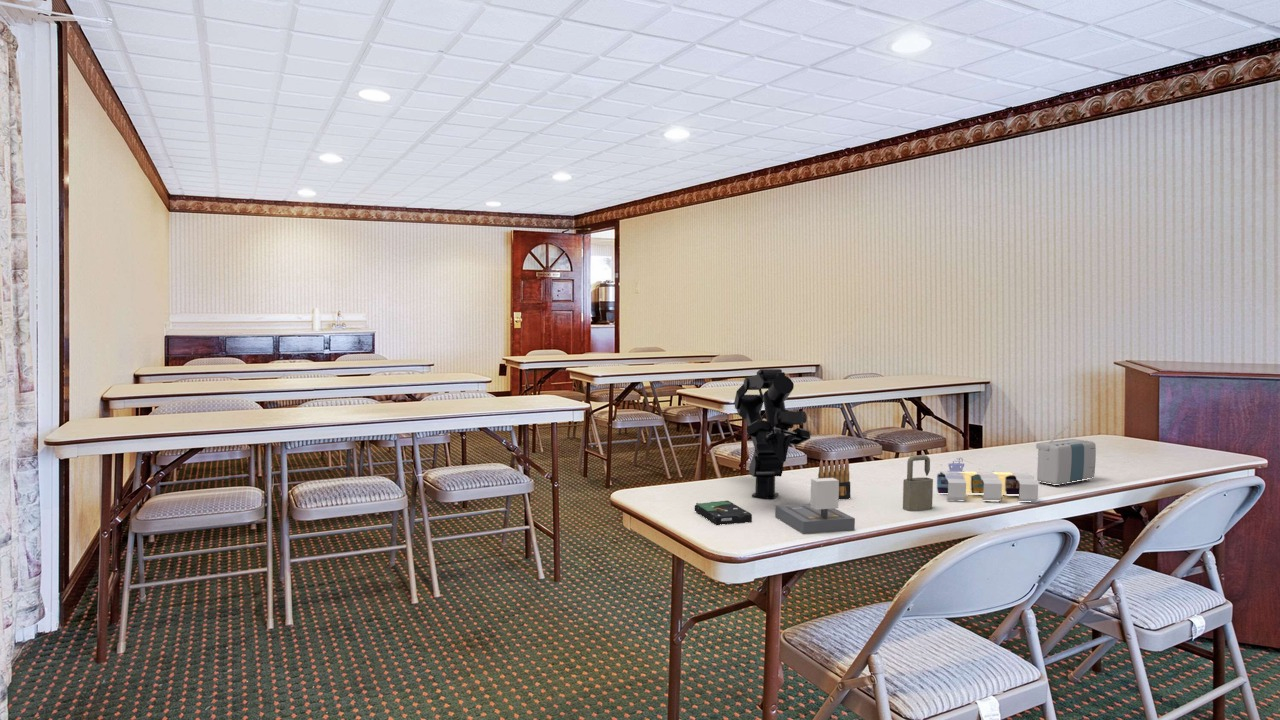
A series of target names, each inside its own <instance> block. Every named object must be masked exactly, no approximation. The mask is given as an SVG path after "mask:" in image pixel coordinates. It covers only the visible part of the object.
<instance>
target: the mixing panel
mask: <svg viewBox="0 0 1280 720" xmlns="http://www.w3.org/2000/svg"><path fill="white" fill-rule="evenodd" d="M774 507H775V508H774V510H775V511H774V518H776V519H778V520H779V519H780V520H779V521H781V522H783V523H785V524H786V525H788V526H789V527H791V528H792V529H794V530H796V531H797V532H799V533H801V534H802V535H809V534H823V533H834V532H835V533H836V532H849V531H855V530H856V529H855V526H856V525H855V523H856V522H855V521H856V518H855V517H853V516H852V515H850V514H847V513H845V512H843V511H841V510H838V508H834V509H828V517H822V516H821V509H818V510H816V509H814V508H812V507H811V503H800V504H799V503H796V504H782V505H781V504H780V505H775V506H774ZM821 532H822V533H821Z"/></svg>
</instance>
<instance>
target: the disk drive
mask: <svg viewBox="0 0 1280 720" xmlns="http://www.w3.org/2000/svg"><path fill="white" fill-rule="evenodd" d="M695 511H696V512H695ZM694 512H695V513H696V514H698V513H699V514H698V515H700V514H701V515H702V517H703V516H704V517H705V519H706V518H707V519H708V520H707V519H706V520H707V521H709V520H710V521H711V522H710V521H709V522H710V523H712V522H713V523H714V524H713V523H712V524H713V525H715V524H716V525H715V526H722V524H725V525H732V524H733V525H735V524H734V523H737V524H745V522H748V523H753V514H752V513H751V512H749V511H747V510H746V509H744V508H742V507H740V506H739V505H736V504H735V503H733V502H732V501H729V500H719V501H709V502H702V503H701V502H696V504H695V505H694ZM701 515H700V516H701ZM704 517H703V518H704ZM720 524H721V525H720Z"/></svg>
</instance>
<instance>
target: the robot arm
mask: <svg viewBox="0 0 1280 720" xmlns="http://www.w3.org/2000/svg"><path fill="white" fill-rule="evenodd" d="M763 389H764V390H766V391H765V392H764V393H763V391H762V390H763ZM757 390H758V391H759V394H746V393H747V392H748V391H757ZM793 390H794V382H793V380H792V379H791V378H790V377H788V376H787V375H786V373H785V372H784V371H783V370H782V369H781V368H764V369H763V368H760V369H759V370H758V371H756V374H755V375H753V376H747V377H745V378H744V379H743V384H741V386H740V387H739V388H737V390H736V393H735V396H734V403H733V404H734V408H735V410H736V412H737V414H738V416H739V417H741V418H742V419H744V420H745V423H746V425H747V427H746V434H747V436H748V437H750V438H751V440H752V444H753V447H754V450H753V451H754V452H753V456H752V458H751V461H750V464H749V467H748V469H749V471H748V472H749V475H750V476H752V477H753V478H755V484H754V485H755V492H754V493H752V494H751V497H753V498H760V499H770V500H771V499H772V500H774V498H776V497H777V496H779V492H776V477H782V474H783V469H784V463H785V462H786V460H787V457H788V453H789V452H788V450H789V447H790V445H793V446H798V445H800V444H802V443H805V442H807V441H808V440H811V433H810V431H809V430H808V429H806V428H801V427H797V428H795V429H792V428H794V426H798V425H799V426H803V424H806V423H807V422H808V421H807V420H808V416H807V413H806V411H803V410H798V411H794V410H793V411H792V410H789V409H786V405H785V401H786V400H787V399H788V398H789V396H790V395H791V393H792V391H793ZM763 406H764V407H763ZM763 408H764V414H762V415H761V413H762V409H763ZM763 419H764V420H763ZM789 429H792V430H789Z"/></svg>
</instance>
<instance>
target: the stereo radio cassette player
mask: <svg viewBox="0 0 1280 720" xmlns="http://www.w3.org/2000/svg"><path fill="white" fill-rule="evenodd" d="M1075 421H1076V419H1075V418H1074V419H1073V420H1072V421H1071V422H1070V423H1068V424H1067V425H1066V426H1065V427H1064V428H1063V429H1061V430H1060V431H1059V432H1057V434H1056V435H1055V436H1054V437H1052V438H1051V440H1049V441H1044V442H1036V444H1035V447H1036V450H1037V470H1036V471H1037V472H1036V478H1037V480H1036V481H1037V482H1038V481H1041V482H1046V483H1051V484H1062V483H1067V482H1072V481H1077V480H1082V479H1087V478H1092V477H1095V474H1096V473H1095V472H1096V456H1097V455H1096V454H1097V446H1096V443H1095V442H1094V441H1092V440H1091V441H1090V440H1083V439H1076V438H1069V439H1060V440H1055V439H1056V438H1057V437H1058V436H1060V435H1061V434H1062V433H1063V432H1064V431H1065V430H1066V429H1068V427H1070V425H1071V424H1072V423H1073V422H1075ZM1092 479H1093V478H1092Z"/></svg>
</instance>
